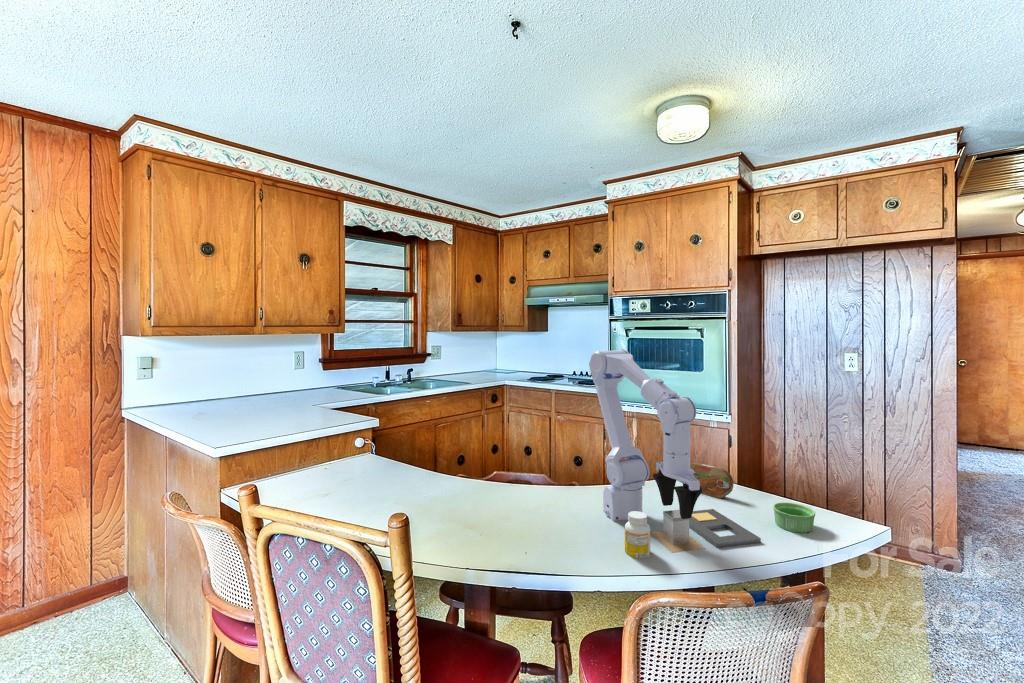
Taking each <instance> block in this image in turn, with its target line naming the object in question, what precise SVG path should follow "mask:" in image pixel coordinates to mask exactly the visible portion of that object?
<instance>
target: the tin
mask: <svg viewBox="0 0 1024 683" xmlns="http://www.w3.org/2000/svg"><path fill="white" fill-rule="evenodd" d="M690 469H692V470H694V474H693V475H694V477H695V478H696V479H697V480H699V481H700V488H702V494H701V495H705V494H706V495H705V496H710V497H713V498H716V497H717V499H721V498H725V497H727V496H729V495H730V494H731V492H733V490H734V489H733V488H734V479H733V477H732V475H731V473H730V472H729V471H727V470H726V469H724V468H722V467H718V466H713V465H708V464H703V463H699V462H690Z"/></svg>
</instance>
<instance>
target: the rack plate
mask: <svg viewBox="0 0 1024 683" xmlns="http://www.w3.org/2000/svg"><path fill="white" fill-rule="evenodd" d="M723 529H726V530H727V531H729V532H730V533H732V534H731V535H725V536H724V535H723V536H720V535H718V534H717V533H716V532H714V531H717V530H723ZM689 530H691V531H692V532H694V533H695V534H697V535H698V536H699V537H701V538H702V539H703V540H705V541H706V542H708V543H709V544H711V545H712V546H713V547H715V548H716V549H722V548H731V547H738V546H746V545H747V546H748V545H753V544H754V545H755V544H762V538H761V537H759V536H758V535H756V534H755V533H753V532H751V531H750V530H748V529H747V528H745V527H743V526H742V525H740V524H738V523H737V522H735V521H733V520H732V519H730V518H728V517H727V516H726V515H723V514H722V513H721V512H719V511H717V510H716V509H714V508H709V509H701V510H699V509H698V510H693V513H692V516H691V518H690V520H689Z"/></svg>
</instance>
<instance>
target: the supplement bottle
mask: <svg viewBox="0 0 1024 683" xmlns="http://www.w3.org/2000/svg"><path fill="white" fill-rule="evenodd" d="M650 532H651V526H650V525H649V524H648V515H647V513H645V512H643V511H642V512H639V511H632V512H629V513H628V520H627V522H626V523H625V525H624V553H625V554H626V555H628V556H630V557H632V558H636V559H646V558H649V557H650V555H651V534H650Z"/></svg>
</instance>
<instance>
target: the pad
mask: <svg viewBox="0 0 1024 683" xmlns="http://www.w3.org/2000/svg"><path fill="white" fill-rule="evenodd" d="M650 536H652V537H654V538H655V539H656V540H657V541H658V542H659V543H660V544H662V546H664V547H665V548H666V549H667V550H668V551H669V552H671V553H679V552H686V551H687V552H688V551H697V550H705V549H706V547H704V546H703V545H702V544H700V542H698V541H696V539H694V538H692V537H691V536H690V535H689V543H685V544H677V545H672V544H671V543H670V542H669V541H668V540H666V539H665V538H664V537H663V530H658V531H657V530H656V531H650Z"/></svg>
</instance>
